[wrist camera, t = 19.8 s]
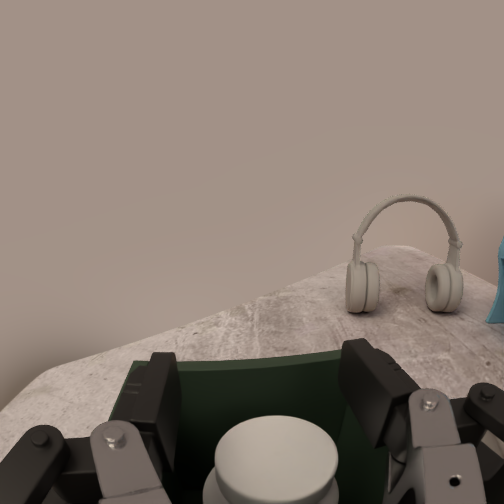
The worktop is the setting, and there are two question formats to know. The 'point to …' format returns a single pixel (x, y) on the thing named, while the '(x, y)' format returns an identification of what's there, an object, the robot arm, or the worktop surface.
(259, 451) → the pill bottle
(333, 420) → the trash bin
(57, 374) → the worktop surface
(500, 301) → the blue two-legged arch
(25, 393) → the worktop surface
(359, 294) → the headphones
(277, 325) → the worktop surface
